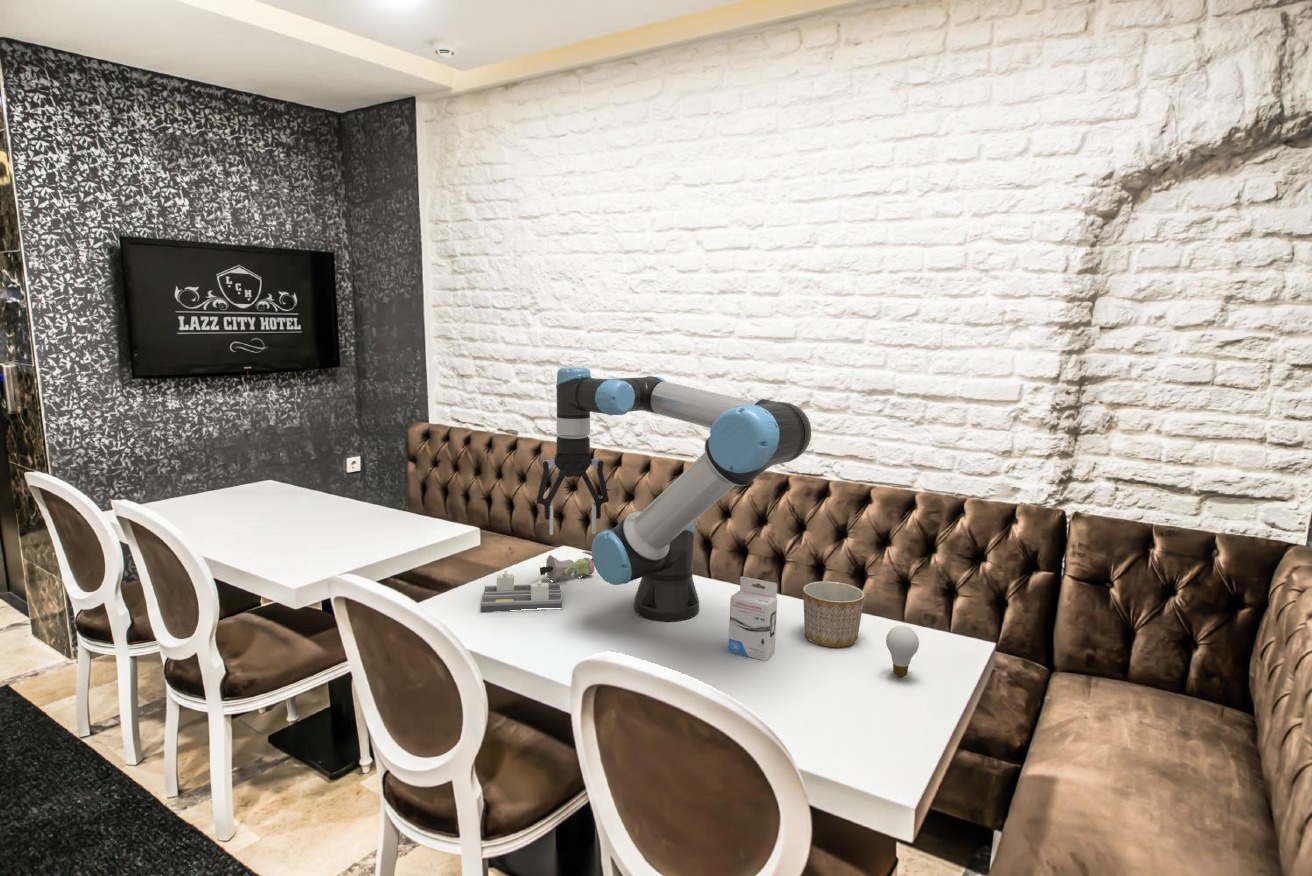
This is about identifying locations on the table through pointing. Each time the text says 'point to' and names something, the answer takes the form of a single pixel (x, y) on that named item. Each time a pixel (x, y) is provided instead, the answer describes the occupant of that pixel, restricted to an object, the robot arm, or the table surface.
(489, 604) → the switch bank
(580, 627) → the table surface
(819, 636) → the planter
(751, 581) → the ink box
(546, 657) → the table surface
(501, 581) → the tab
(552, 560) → the figurine
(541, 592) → the tab
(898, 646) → the light bulb
